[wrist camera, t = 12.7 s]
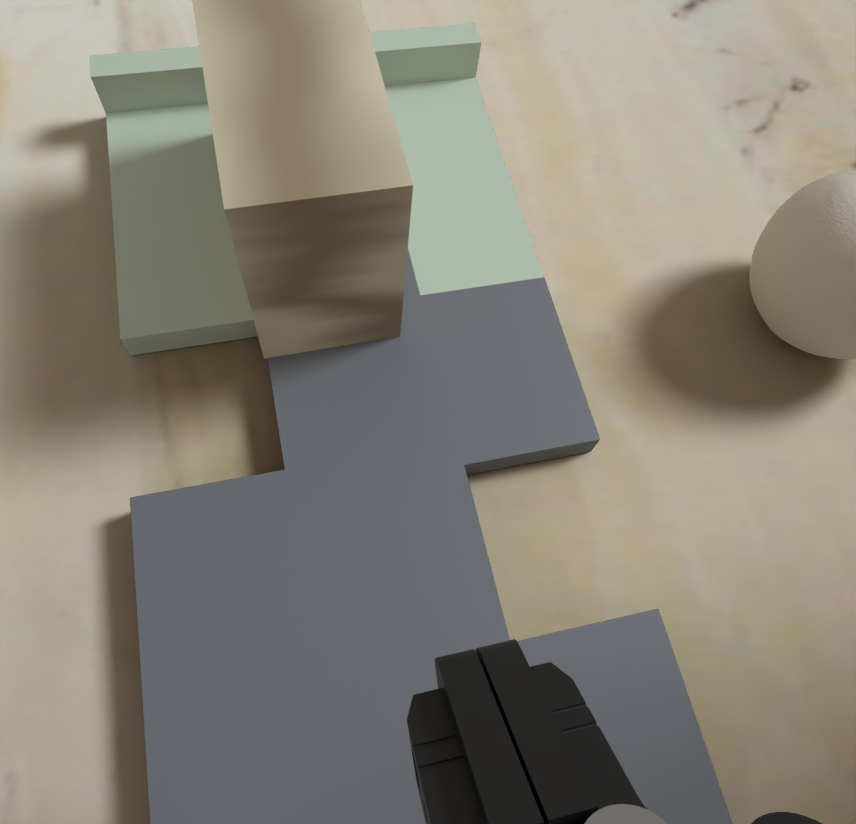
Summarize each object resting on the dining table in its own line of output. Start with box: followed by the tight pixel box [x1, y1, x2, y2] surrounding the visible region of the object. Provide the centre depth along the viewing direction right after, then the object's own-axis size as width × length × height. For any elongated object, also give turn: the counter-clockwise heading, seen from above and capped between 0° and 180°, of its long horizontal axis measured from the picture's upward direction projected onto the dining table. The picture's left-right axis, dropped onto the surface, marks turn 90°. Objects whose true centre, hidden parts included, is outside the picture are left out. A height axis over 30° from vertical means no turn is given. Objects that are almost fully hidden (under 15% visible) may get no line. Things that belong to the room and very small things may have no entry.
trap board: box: [90, 23, 732, 824], centre depth 24 cm, size 16×40×3 cm, turn 13°
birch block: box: [192, 0, 413, 359], centre depth 25 cm, size 5×11×8 cm, turn 13°
